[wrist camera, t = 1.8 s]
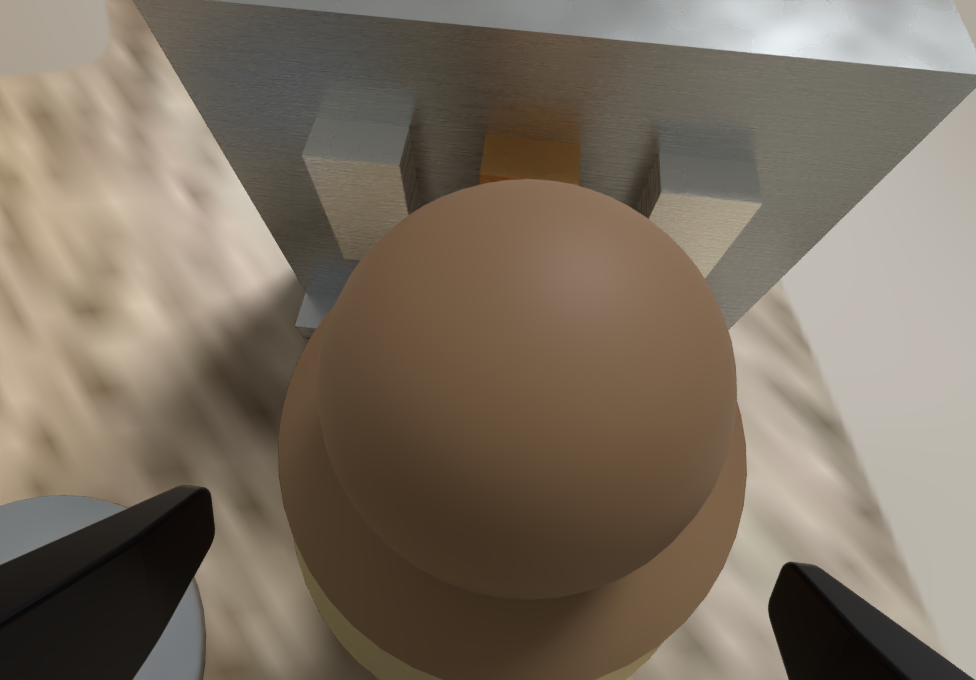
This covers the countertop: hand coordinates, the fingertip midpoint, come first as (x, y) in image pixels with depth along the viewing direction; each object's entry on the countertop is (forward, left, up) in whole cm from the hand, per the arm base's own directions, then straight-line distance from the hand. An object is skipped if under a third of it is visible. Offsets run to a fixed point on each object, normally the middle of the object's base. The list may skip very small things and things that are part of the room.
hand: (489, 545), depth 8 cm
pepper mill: (+1, 0, -10) cm, 10 cm away
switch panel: (+10, +1, -9) cm, 14 cm away
